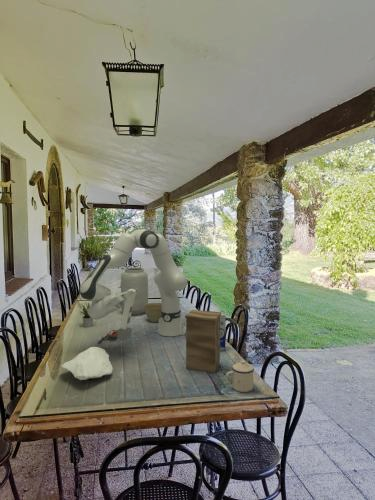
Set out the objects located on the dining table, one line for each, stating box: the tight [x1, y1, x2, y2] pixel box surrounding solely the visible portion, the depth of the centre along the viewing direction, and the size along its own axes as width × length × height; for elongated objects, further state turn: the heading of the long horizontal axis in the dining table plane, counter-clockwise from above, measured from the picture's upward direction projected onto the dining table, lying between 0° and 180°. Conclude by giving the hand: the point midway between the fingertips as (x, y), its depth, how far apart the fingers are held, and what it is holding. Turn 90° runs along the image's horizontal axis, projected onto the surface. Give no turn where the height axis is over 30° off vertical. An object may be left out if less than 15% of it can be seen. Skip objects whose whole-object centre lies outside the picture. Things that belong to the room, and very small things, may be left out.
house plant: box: [79, 302, 94, 328], centre depth 243 cm, size 14×14×16 cm
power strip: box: [117, 289, 136, 342], centre depth 192 cm, size 6×26×5 cm
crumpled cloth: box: [61, 346, 113, 381], centre depth 171 cm, size 24×35×9 cm
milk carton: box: [220, 314, 227, 352], centre depth 201 cm, size 7×7×20 cm
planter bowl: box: [144, 302, 162, 323], centre depth 256 cm, size 16×16×11 cm
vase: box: [120, 267, 149, 316], centre depth 275 cm, size 20×20×34 cm
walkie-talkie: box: [97, 329, 119, 344], centre depth 218 cm, size 9×4×20 cm
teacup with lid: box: [225, 360, 255, 393], centre depth 156 cm, size 12×9×12 cm
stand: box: [184, 309, 222, 374], centre depth 177 cm, size 12×15×26 cm
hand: (134, 290), depth 189 cm, fingers closed on power strip, 4 cm apart
